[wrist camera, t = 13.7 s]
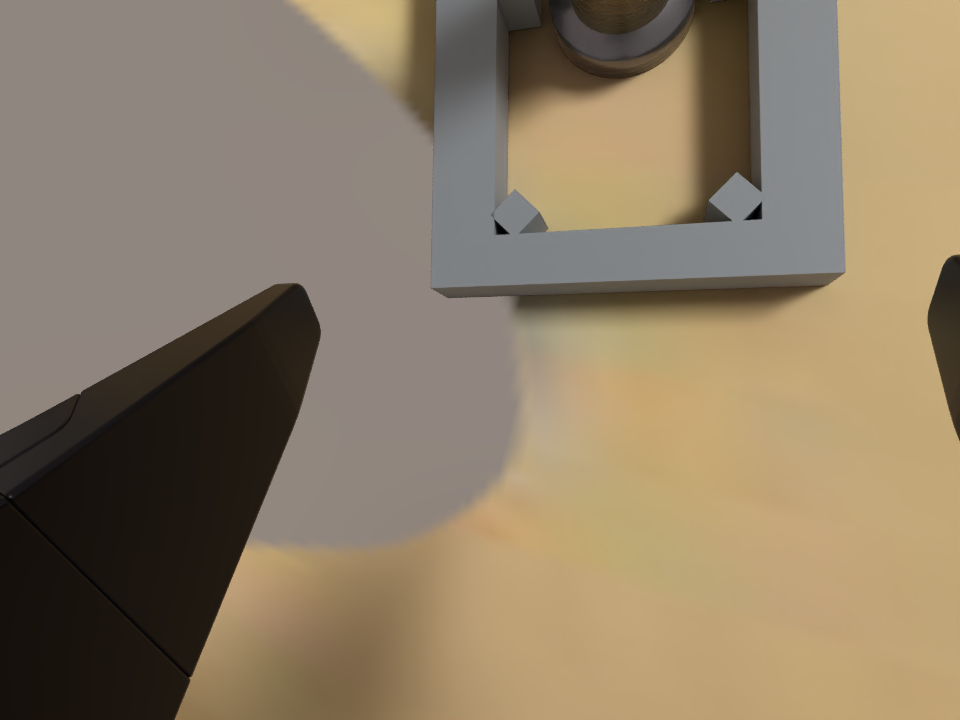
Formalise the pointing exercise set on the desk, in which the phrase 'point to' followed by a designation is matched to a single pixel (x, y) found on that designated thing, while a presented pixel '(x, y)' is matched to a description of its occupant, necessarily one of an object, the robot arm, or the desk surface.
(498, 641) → the desk surface
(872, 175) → the desk surface
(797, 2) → the square frame
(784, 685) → the desk surface
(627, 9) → the brass peg
